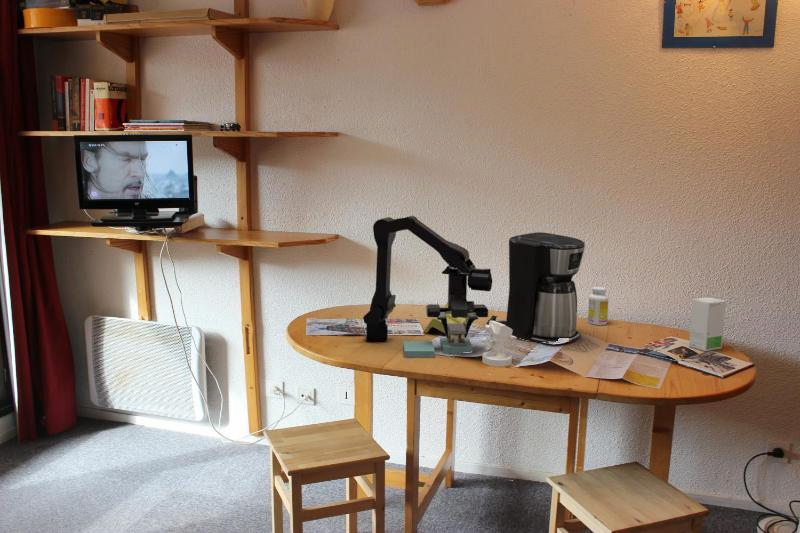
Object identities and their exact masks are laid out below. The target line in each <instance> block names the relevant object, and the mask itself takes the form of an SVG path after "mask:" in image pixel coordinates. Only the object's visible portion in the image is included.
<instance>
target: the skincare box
mask: <svg viewBox="0 0 800 533" xmlns="http://www.w3.org/2000/svg"><path fill="white" fill-rule="evenodd" d="M726 304H727V301H726V300H723V299H720V298H716V297H715V298H714V297H697V298H693V299H692V306H691V315H690V316H691V317H690V318H691V319H690V328H689V329H690V330H689V338H688V340H689V342H688V348H689V347H690V348H693V349H695V350H699V351H701V352H709V351H713V350H720V349H722V347H723V338H724V337H723V336H724V325H725V313H726Z"/></svg>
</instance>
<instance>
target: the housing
mask: <svg viewBox="0 0 800 533" xmlns="http://www.w3.org/2000/svg"><path fill="white" fill-rule="evenodd" d="M447 327H448V338H447V337H446V338H447V340H448V343H449V346H466V342H465V334H466V329H465V324H464V323H447ZM454 334H456V335H455V336H454Z"/></svg>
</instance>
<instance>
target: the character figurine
mask: <svg viewBox="0 0 800 533" xmlns="http://www.w3.org/2000/svg"><path fill="white" fill-rule="evenodd" d="M496 321H497V320H496ZM496 321H489V325H487V324H486V325H485V326H484V327H483V328H482V329H481V331H484V332H483V333H484V334H490V336H489V338H488V337H486V336H484V337H482V338H481V343H482V344H483V347H484V348H485V349H486V350H487V351H485V352H483V353H482V363H483V364H485V365H487V366H490V367H495V368H496V367H498V368H502V367H503V368H504V367H508V366H511V365H512V362H513V355H512V354H511V353H509V352H507V351H506V346H505V344H504V343H505V342H508V340H509V338H510V339H517V338H516V337H515V336H512V331H513V330H512V329H511V328H509V327H507V326H505V325H504V324H501V323H498V322H496ZM488 350H489V351H488Z"/></svg>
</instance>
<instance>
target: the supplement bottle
mask: <svg viewBox="0 0 800 533" xmlns="http://www.w3.org/2000/svg"><path fill="white" fill-rule="evenodd" d="M606 292H607V288H606V287H603V286H593V287H592V293H591V294H590V295H589V296H588V309H587V310H588V312H587V321H588V323H589V325H593V326H604V325H607V323H608V314H609V313H608V312H609V297H608V295H607V294H606Z"/></svg>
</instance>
